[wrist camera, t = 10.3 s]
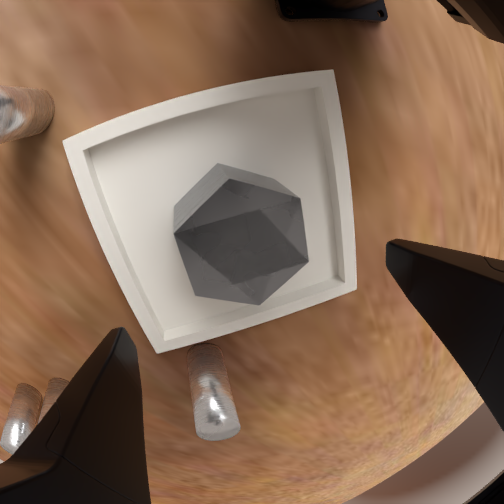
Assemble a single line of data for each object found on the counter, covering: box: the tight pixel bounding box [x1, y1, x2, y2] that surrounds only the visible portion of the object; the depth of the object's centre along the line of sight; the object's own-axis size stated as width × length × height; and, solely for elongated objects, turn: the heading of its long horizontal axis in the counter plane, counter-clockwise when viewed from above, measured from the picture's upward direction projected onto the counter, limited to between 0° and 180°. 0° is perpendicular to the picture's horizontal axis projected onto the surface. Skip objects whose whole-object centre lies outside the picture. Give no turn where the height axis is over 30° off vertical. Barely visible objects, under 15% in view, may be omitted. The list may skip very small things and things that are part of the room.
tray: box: [62, 69, 357, 354], centre depth 15 cm, size 13×13×2 cm
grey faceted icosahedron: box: [173, 163, 309, 305], centre depth 14 cm, size 5×6×4 cm
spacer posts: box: [0, 85, 240, 455], centre depth 12 cm, size 18×20×6 cm
